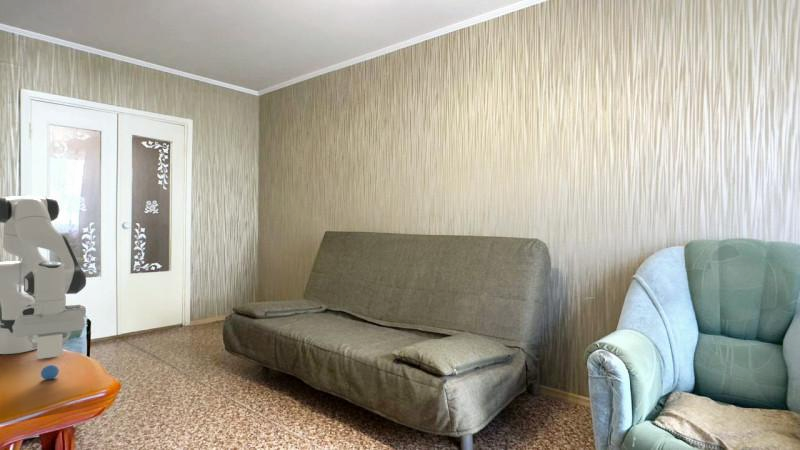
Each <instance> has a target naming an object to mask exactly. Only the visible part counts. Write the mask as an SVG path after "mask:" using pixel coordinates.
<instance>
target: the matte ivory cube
mask: <svg viewBox="0 0 800 450" xmlns="http://www.w3.org/2000/svg"><path fill="white" fill-rule="evenodd" d="M63 334H64V332H59V333H50V334H42V335H38V336H37V349H36V351H37V352H36V359H37V360H39V359H40V360H41V359H47V358H48V359H49V358H54V357H55V358H56V357H61V356H63V351H64V350H63V346H64V344H63V339H64V338H63Z"/></svg>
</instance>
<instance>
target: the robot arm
mask: <svg viewBox="0 0 800 450" xmlns="http://www.w3.org/2000/svg"><path fill="white" fill-rule="evenodd" d="M60 211H61V210H60V205H59V203H58V201H57V200H56V199H55V198H54V197H50V196H49V197H48V196H44V197H43V196H33V195H25V196H24V195H23V196H22V195H20V196H19V195H18V196H15V195H14V196H4V195H3V196H0V223H1V224H3V230H2V231H3V233H2V247H3V248H2V249H4V251H5V252H6V253H8V254H9V255H13V256H16V257H18V258H20V259H21V260H12V261H0V307H1V319H0V355H13V354H21V353H26V352H31V351H33V350H37V336H38V335H42V334H50V333H59V332H62V333H66V337H64V338H63V345H68V340H69V338H70V336H71V335H72V332H74V331H75V332H76V331H82V330H83V329H85V327H86V325H85V322H86V321H85V316H86V313H87V309H86V307H85V306H84V305H81V304H74V305H67V300H66V299H67V296H66V295H73V294H74V295H77V294H78V293H80V291H82V290H83V289H85V287H86V285H87V278H86V274H85V271H84V270H83V269H82V268H81V266H80V265H79V262H78V260H77V258H76V256H75V254H74V251H73V248H72V247H71V245H70V242H69V240H68V239H67V237H66V236H65V235H64V234H63V233H61V232H59V231H58V230H57V229H56V228H55V227H54V225H53V223H52V222H54V221H55V220H56V219H58V218H59V214H60ZM40 248H41V249H44V250H47V251H51V252H53V253H54V254H56V255H57V256H58V258H59V260H60V262H59V261H54V260H53V261H52V260H48V259H47V258H46V257H44V256H43V255H42V253H41V252H40V250H39V249H40ZM22 286H23V292H20V291H19V290H17V289H18V287H22Z"/></svg>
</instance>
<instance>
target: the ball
mask: <svg viewBox="0 0 800 450" xmlns="http://www.w3.org/2000/svg"><path fill="white" fill-rule="evenodd" d="M58 367H59V366H58ZM58 367H57V366H56V365H54V364H48V365H46V366H45V367H43V368H42V369H41V371H40V376H41V378H42V379H44V380H47V381H48V380H52V379H55V378H56V377H57V376H58V374H59V371H60V370H59V368H58Z"/></svg>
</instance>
